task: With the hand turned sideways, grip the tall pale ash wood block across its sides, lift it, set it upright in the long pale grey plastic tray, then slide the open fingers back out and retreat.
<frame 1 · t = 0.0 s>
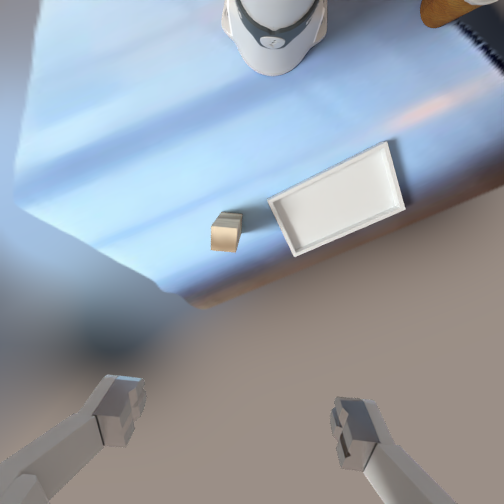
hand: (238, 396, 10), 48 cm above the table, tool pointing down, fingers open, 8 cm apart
ash block: (231, 223, 57), on the table
tray: (332, 202, 54), on the table
disposable coffee cup: (438, 5, 40), on the table
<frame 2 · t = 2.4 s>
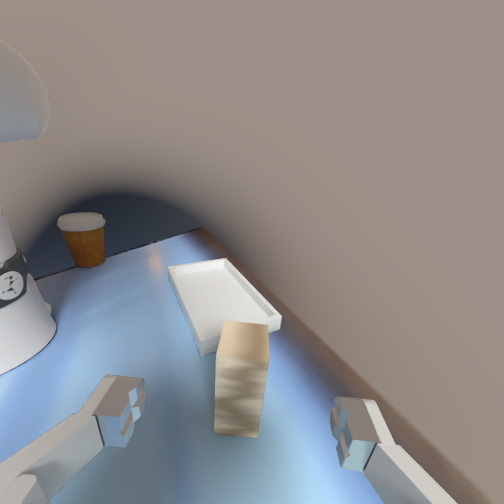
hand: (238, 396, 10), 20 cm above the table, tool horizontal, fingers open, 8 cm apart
ash block: (237, 413, 29), on the table
tray: (216, 299, 50), on the table
disposable coffee cup: (90, 262, 61), on the table
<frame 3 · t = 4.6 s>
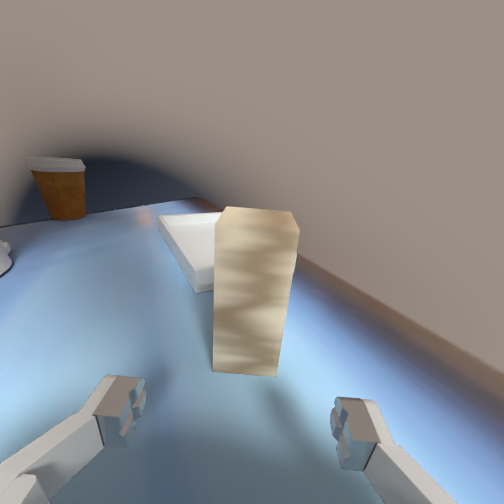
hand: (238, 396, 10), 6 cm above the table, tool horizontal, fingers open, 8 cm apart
ash block: (246, 349, 21), on the table
tray: (215, 247, 42), on the table
disposable coffee cup: (69, 217, 52), on the table
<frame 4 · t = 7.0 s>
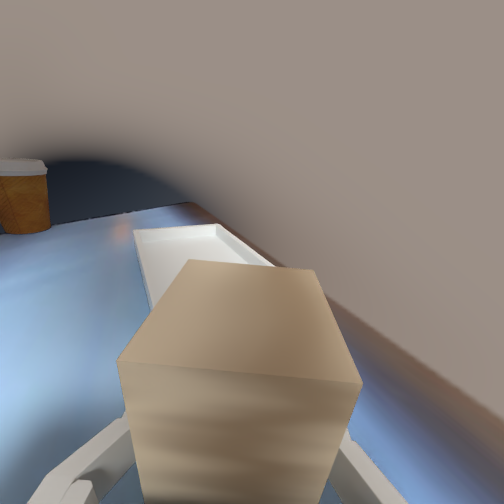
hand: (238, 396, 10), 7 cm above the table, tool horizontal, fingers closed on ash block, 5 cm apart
ash block: (230, 502, 12), on the table, touching gripper
tray: (201, 273, 33), on the table
disposable coffee cup: (29, 229, 44), on the table
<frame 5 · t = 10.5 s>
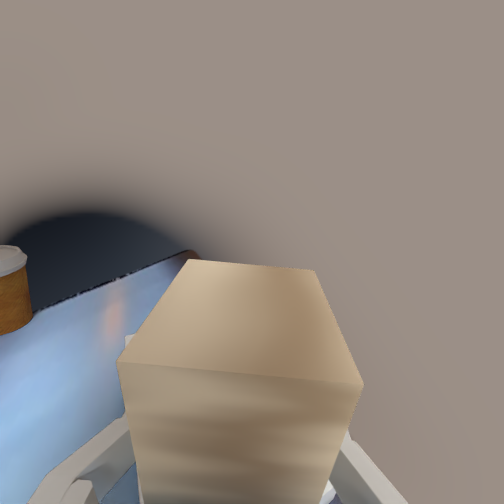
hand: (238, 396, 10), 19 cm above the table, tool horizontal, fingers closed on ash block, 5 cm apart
ash block: (230, 503, 12), point 12 cm above the table, touching gripper
tray: (205, 408, 28), on the table
disposable coffee cup: (7, 324, 38), on the table
when the fingers open (8 cm above the table, at t = 14.3 s): ash block stays where it is, resting on tray.
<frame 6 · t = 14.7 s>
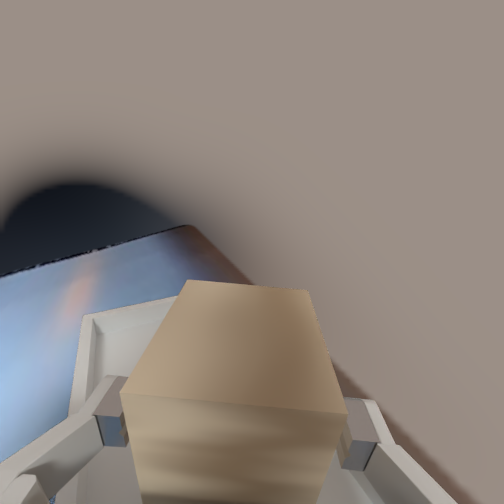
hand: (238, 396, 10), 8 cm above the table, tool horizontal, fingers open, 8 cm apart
tray: (207, 434, 16), on the table
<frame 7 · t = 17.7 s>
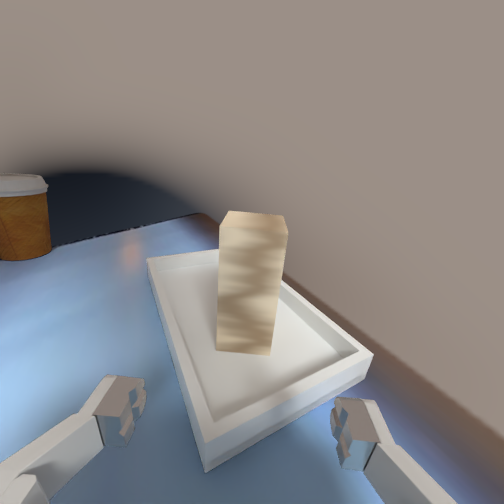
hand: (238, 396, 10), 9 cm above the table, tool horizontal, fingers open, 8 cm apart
ash block: (244, 334, 24), point 1 cm above the table, touching tray
tray: (230, 315, 28), on the table
disposable coffee cup: (27, 253, 38), on the table
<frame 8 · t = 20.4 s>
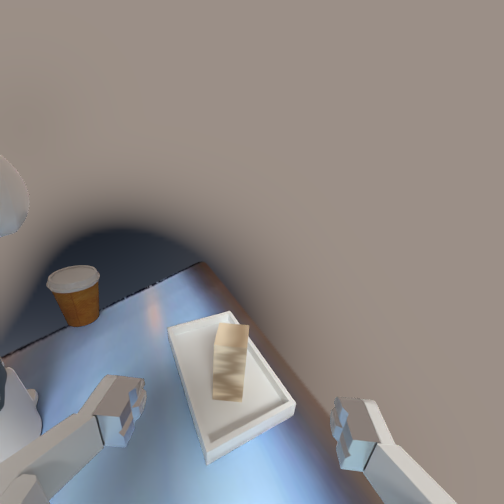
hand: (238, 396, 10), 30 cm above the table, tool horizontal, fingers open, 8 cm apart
ash block: (229, 387, 42), point 1 cm above the table, touching tray
tray: (221, 371, 46), on the table
disposable coffee cup: (83, 318, 56), on the table
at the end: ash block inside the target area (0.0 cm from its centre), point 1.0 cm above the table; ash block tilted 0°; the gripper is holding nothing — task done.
